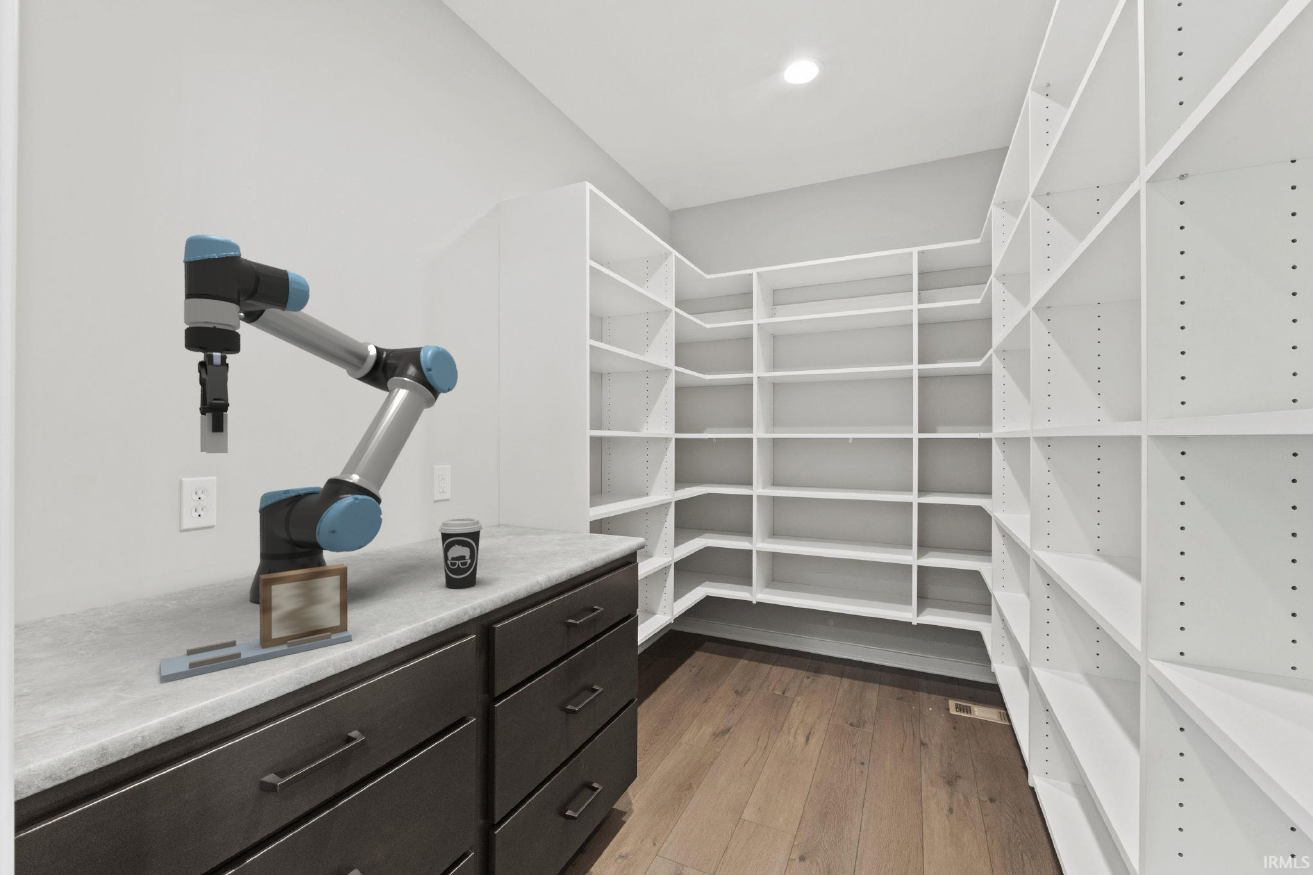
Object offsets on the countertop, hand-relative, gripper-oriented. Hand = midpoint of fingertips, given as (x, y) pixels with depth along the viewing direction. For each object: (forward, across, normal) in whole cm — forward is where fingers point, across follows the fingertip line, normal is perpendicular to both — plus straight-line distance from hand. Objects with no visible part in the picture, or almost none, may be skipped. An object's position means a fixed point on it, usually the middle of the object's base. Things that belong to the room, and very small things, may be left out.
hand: (213, 452), depth 96 cm
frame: (+31, -14, -11) cm, 35 cm away
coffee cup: (+32, +4, -45) cm, 55 cm away
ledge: (+32, -14, -5) cm, 35 cm away
